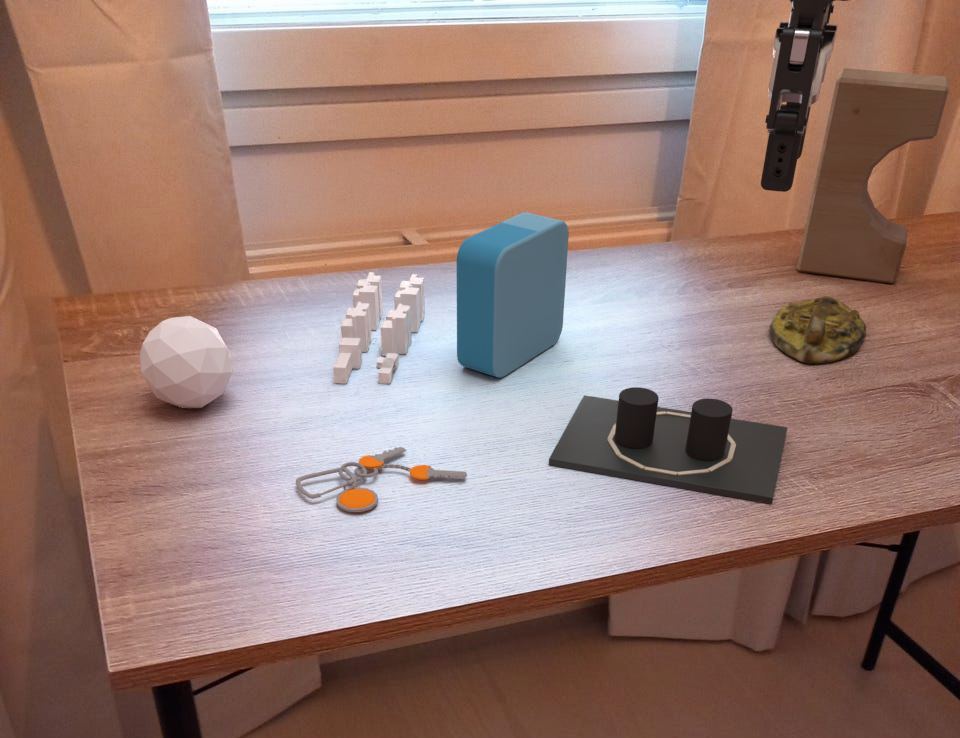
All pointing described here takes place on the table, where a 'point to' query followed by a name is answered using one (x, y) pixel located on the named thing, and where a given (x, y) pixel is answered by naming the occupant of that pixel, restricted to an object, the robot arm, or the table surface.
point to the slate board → (673, 453)
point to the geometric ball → (185, 362)
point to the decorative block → (865, 171)
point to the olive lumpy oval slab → (818, 330)
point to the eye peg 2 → (708, 429)
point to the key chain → (365, 497)
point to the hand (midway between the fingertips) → (781, 173)
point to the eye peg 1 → (636, 417)
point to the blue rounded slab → (510, 293)
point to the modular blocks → (367, 319)
